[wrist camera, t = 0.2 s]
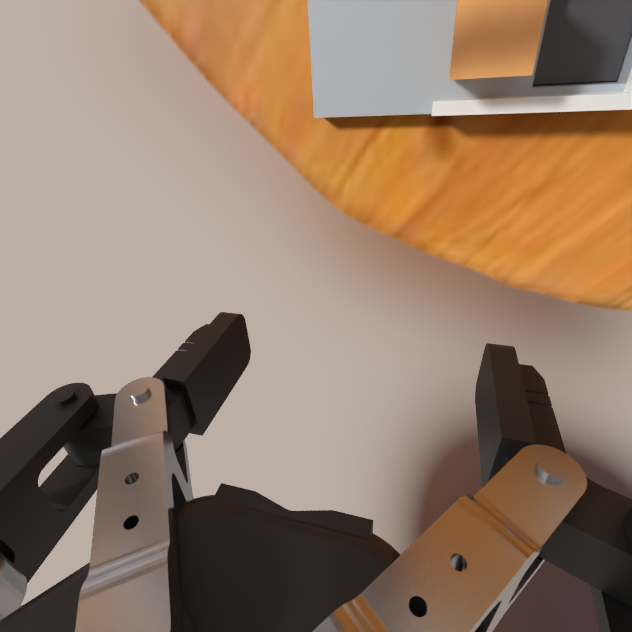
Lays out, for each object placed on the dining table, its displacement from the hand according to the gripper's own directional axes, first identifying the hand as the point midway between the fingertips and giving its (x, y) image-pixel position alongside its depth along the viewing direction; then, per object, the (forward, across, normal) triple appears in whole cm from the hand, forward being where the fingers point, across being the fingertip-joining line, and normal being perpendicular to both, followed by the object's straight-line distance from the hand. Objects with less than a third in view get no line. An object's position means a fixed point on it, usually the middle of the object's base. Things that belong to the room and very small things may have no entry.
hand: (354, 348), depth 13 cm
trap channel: (+28, -3, -9) cm, 30 cm away
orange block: (+26, -5, -9) cm, 28 cm away
